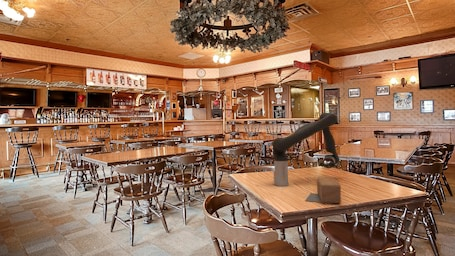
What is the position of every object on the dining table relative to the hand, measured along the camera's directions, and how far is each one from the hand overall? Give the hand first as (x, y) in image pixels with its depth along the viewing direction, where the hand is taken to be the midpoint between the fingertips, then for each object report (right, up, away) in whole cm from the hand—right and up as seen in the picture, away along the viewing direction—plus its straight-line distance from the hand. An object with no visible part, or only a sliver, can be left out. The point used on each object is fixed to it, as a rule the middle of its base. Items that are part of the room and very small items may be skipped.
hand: (325, 166), depth 174 cm
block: (-4, -10, -12) cm, 16 cm away
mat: (-10, -16, -21) cm, 28 cm away
